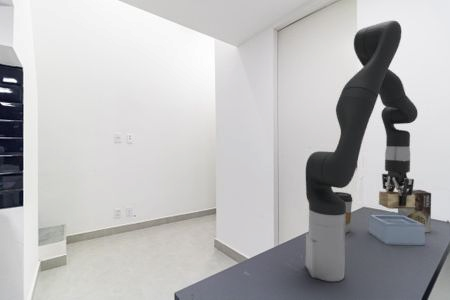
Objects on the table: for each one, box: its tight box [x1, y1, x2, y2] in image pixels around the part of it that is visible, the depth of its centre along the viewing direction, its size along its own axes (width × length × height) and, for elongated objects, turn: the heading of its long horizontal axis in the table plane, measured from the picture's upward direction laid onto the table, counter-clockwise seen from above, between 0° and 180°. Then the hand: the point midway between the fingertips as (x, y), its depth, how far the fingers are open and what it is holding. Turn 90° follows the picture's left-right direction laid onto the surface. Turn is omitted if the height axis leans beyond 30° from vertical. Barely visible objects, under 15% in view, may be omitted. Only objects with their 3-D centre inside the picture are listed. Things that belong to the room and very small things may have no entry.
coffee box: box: [397, 189, 432, 233], centre depth 97 cm, size 9×6×16 cm
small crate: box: [378, 190, 415, 210], centre depth 88 cm, size 9×6×5 cm, turn 88°
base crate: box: [368, 214, 426, 246], centre depth 88 cm, size 13×11×7 cm
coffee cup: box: [333, 191, 353, 234], centre depth 96 cm, size 8×8×15 cm
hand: (396, 203), depth 88 cm, fingers closed on small crate, 6 cm apart
